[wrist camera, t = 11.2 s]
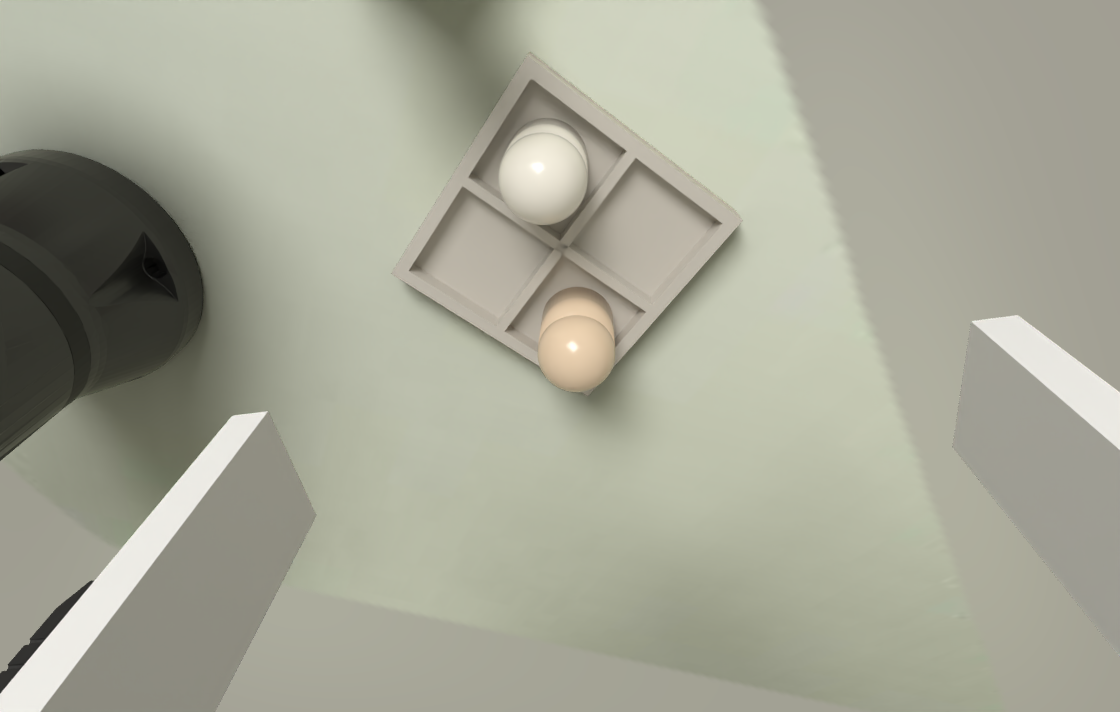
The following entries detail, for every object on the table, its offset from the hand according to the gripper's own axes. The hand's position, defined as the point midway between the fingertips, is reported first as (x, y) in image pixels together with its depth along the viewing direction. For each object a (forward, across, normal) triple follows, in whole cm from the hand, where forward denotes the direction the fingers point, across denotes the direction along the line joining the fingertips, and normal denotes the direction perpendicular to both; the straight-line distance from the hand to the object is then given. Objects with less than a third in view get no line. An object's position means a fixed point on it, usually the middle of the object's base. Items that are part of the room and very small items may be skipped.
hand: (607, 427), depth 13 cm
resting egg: (+28, -3, -1) cm, 28 cm away
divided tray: (+29, -3, -6) cm, 29 cm away
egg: (+28, -3, -11) cm, 30 cm away
